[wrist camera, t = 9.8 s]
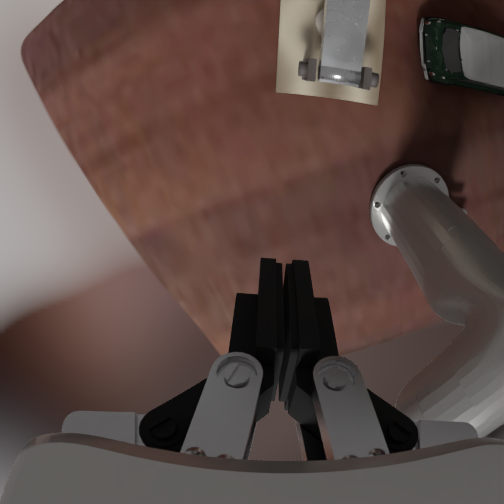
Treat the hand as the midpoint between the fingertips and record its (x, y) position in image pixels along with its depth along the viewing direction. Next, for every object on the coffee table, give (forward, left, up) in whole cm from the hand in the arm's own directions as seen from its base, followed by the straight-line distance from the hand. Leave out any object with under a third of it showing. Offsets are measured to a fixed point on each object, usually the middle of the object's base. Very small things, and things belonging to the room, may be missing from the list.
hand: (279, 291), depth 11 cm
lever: (-6, -17, -22) cm, 29 cm away
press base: (-6, -16, -29) cm, 34 cm away
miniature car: (-26, -15, -30) cm, 42 cm away
